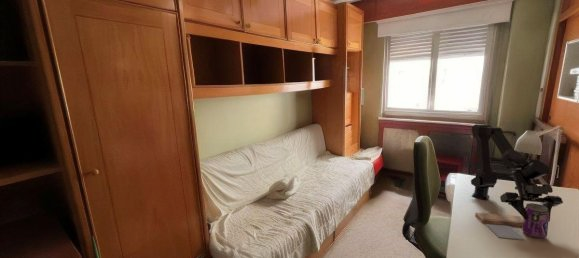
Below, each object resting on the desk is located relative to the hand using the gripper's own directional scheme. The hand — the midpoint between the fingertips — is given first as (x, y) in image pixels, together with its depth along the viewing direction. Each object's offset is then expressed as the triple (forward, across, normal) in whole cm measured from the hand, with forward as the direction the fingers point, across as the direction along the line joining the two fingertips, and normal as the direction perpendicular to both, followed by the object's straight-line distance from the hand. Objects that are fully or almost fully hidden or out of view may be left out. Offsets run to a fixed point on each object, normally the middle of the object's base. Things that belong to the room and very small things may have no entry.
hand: (537, 220), depth 98 cm
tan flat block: (-2, -5, +12) cm, 13 cm away
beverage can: (+4, +1, +6) cm, 7 cm away
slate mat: (+5, -10, +6) cm, 12 cm away
